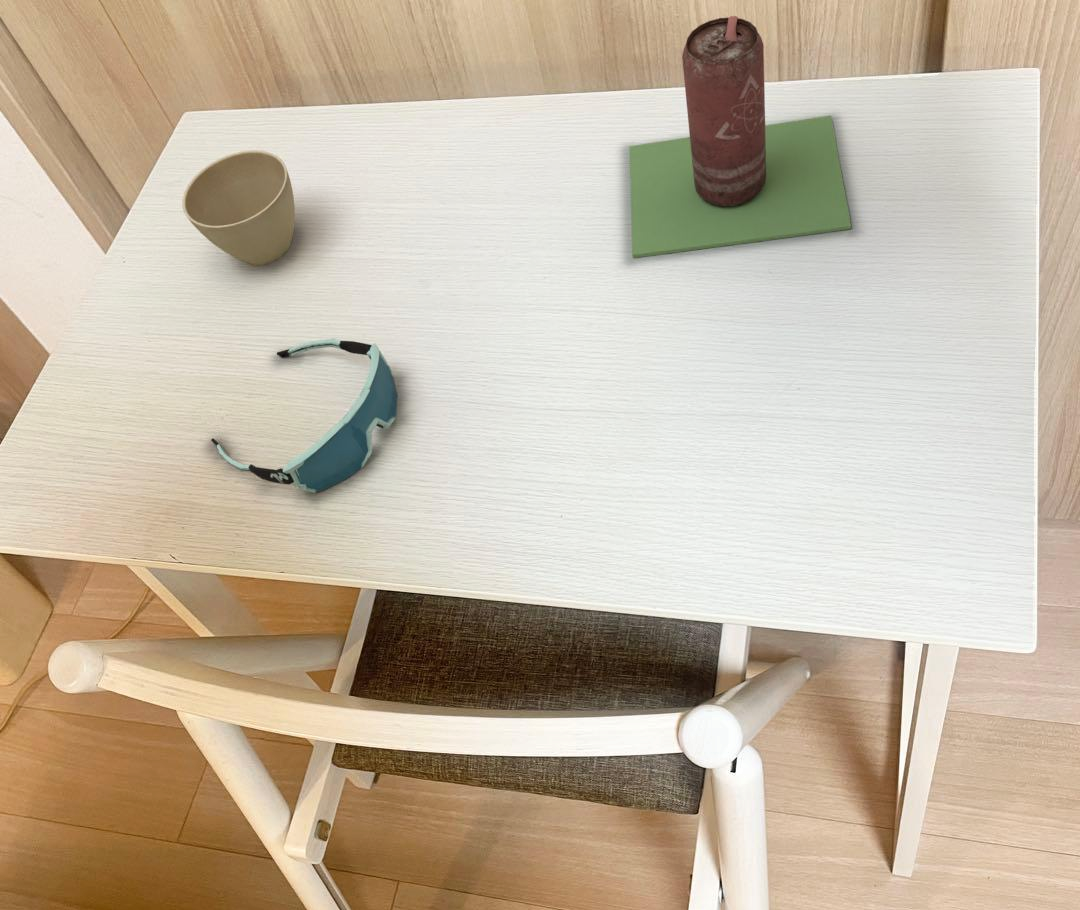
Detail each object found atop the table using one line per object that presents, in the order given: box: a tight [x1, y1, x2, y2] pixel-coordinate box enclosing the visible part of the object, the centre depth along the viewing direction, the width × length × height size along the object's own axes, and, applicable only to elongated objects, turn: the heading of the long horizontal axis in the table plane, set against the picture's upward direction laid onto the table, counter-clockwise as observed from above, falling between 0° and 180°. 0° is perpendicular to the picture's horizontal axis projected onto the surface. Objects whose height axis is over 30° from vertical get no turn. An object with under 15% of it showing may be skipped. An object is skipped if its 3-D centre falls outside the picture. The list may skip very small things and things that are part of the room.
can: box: [681, 15, 766, 207], centre depth 84 cm, size 6×6×14 cm
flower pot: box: [181, 149, 296, 266], centre depth 96 cm, size 10×10×7 cm
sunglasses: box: [210, 338, 398, 494], centre depth 84 cm, size 14×15×5 cm
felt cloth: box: [629, 115, 852, 259], centre depth 90 cm, size 18×14×1 cm
